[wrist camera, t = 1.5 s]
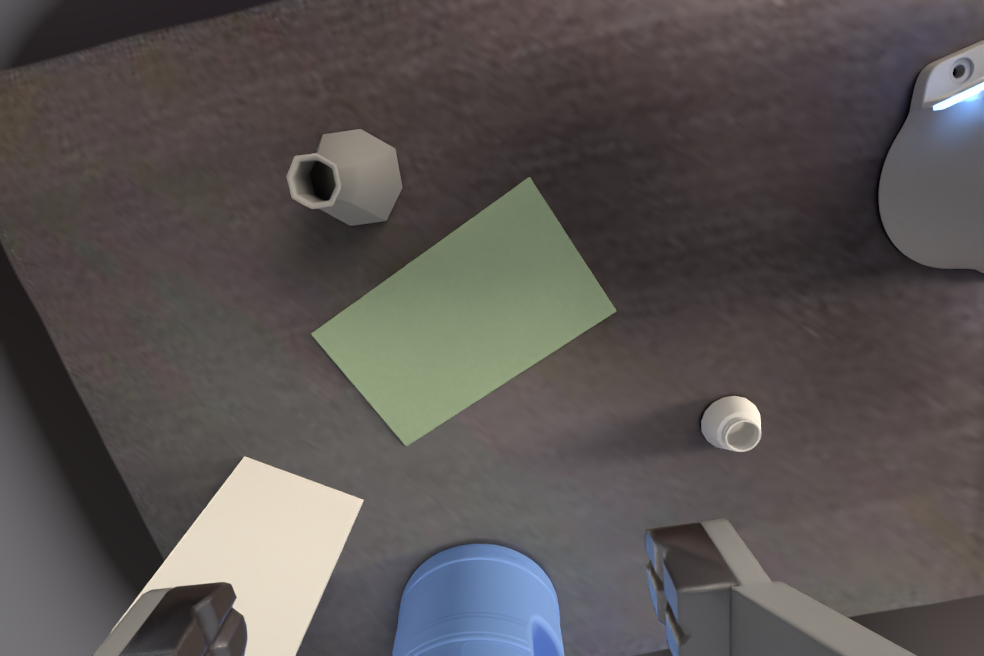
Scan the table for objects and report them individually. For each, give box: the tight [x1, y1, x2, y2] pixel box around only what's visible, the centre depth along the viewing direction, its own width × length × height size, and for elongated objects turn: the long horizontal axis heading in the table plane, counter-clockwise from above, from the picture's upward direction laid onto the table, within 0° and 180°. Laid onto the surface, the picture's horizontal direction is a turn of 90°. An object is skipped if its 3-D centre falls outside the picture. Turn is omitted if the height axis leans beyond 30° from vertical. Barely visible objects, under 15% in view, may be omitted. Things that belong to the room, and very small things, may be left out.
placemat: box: [311, 177, 616, 446], centre depth 42 cm, size 22×13×1 cm, turn 125°
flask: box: [286, 129, 403, 226], centre depth 34 cm, size 7×7×10 cm
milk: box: [111, 456, 364, 656], centre depth 36 cm, size 12×12×26 cm
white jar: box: [701, 396, 761, 452], centre depth 44 cm, size 5×3×5 cm
